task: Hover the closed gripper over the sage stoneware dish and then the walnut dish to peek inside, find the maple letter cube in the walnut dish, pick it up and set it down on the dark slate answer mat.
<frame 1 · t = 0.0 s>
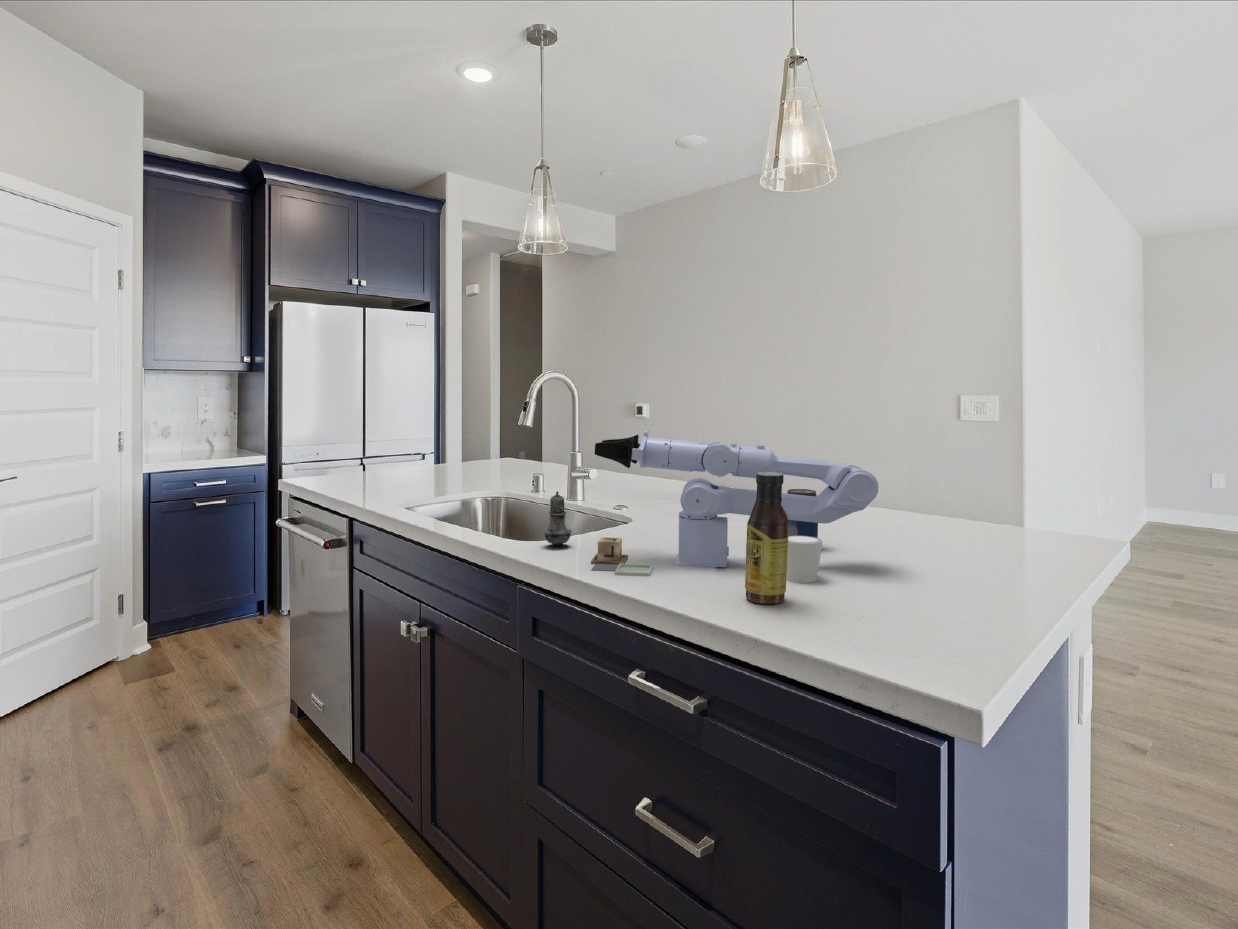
hand: (598, 447, 130), 22 cm above the countertop, tool horizontal, fingers open, 7 cm apart
soda can: (800, 548, 143), on the countertop
letter cube: (609, 560, 130), resting on walnut dish
sauce bottle: (765, 601, 105), on the countertop
white tapered cylinder: (800, 579, 118), on the countertop
walnut dish: (609, 562, 130), on the countertop
slate mat: (605, 569, 124), on the countertop
stoneware dish: (634, 572, 122), on the countertop
salt shaker: (557, 549, 141), on the countertop
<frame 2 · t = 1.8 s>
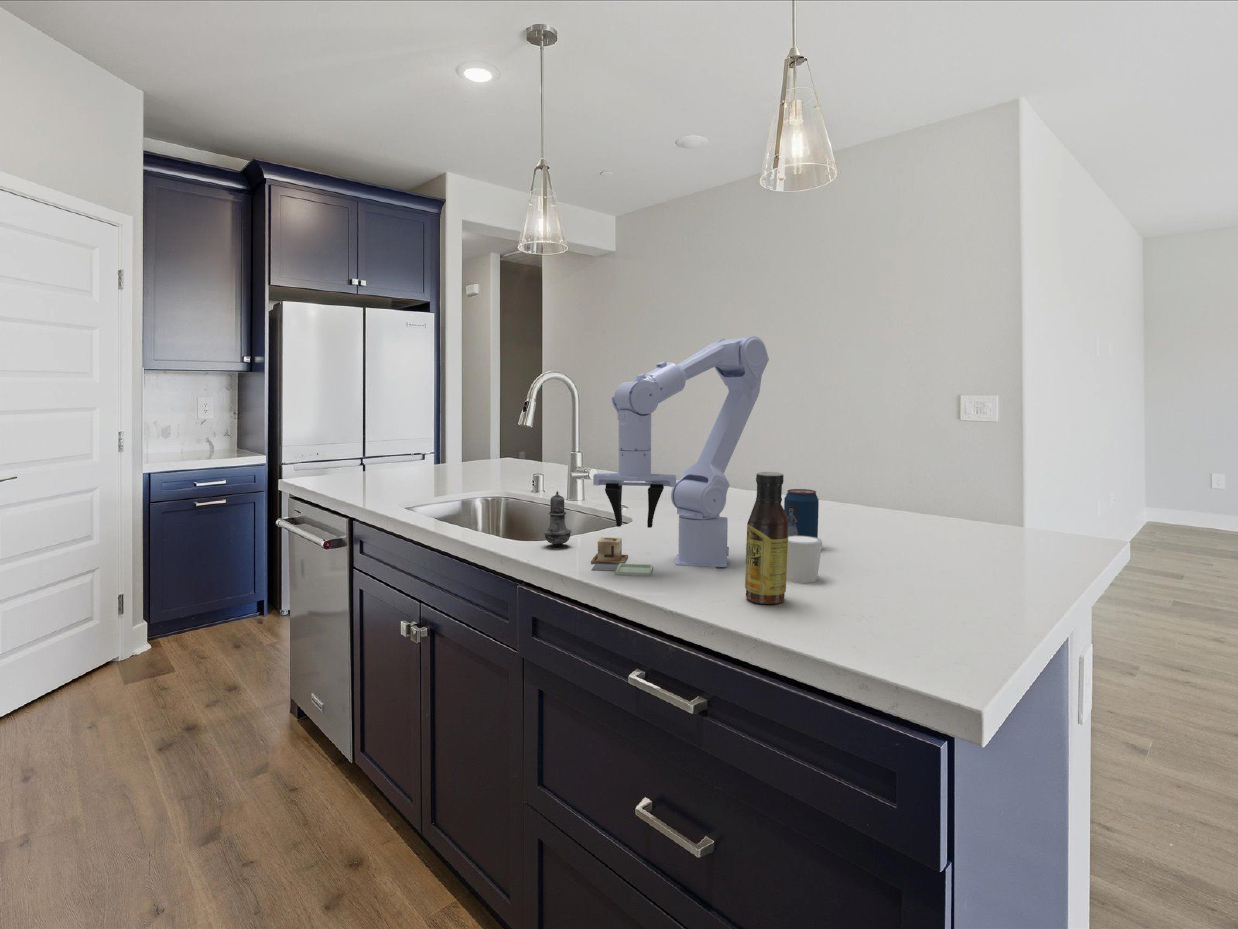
hand: (634, 526, 121), 8 cm above the countertop, tool pointing down, fingers open, 5 cm apart
nothing on the countertop moved.
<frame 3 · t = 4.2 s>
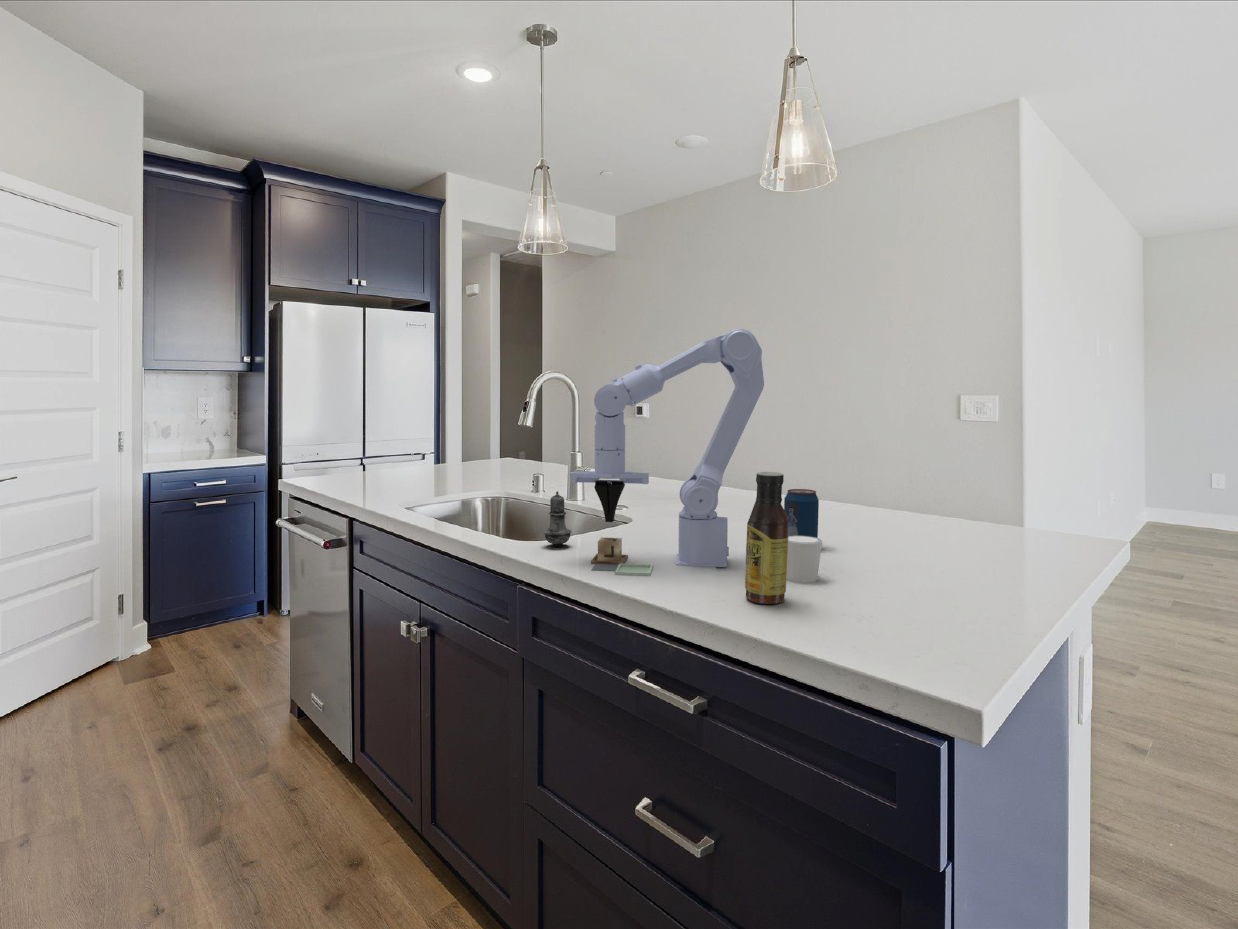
hand: (609, 521, 129), 8 cm above the countertop, tool pointing down, fingers closed
nothing on the countertop moved.
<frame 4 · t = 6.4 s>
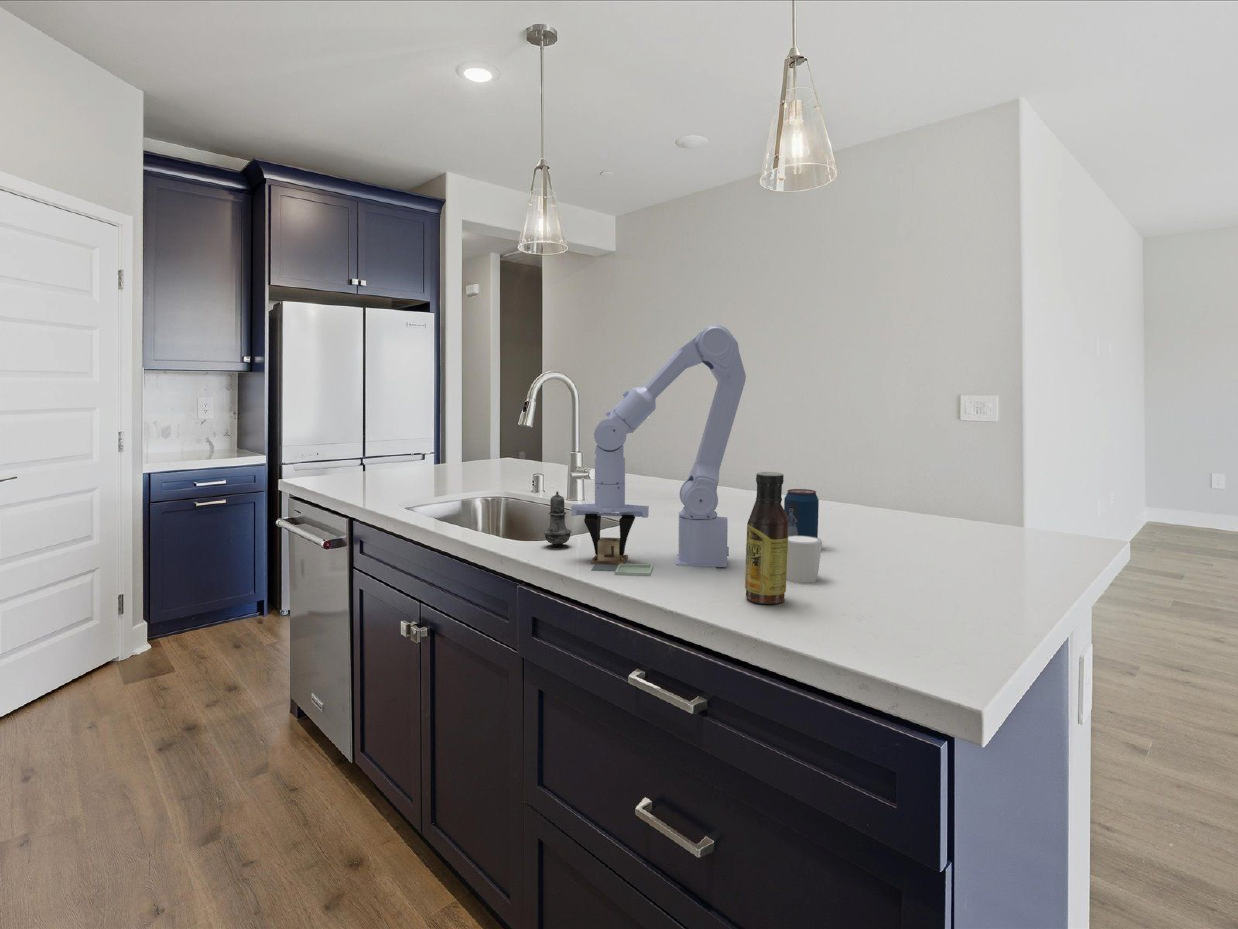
hand: (609, 553, 129), 2 cm above the countertop, tool pointing down, fingers closed on letter cube, 4 cm apart
letter cube: (609, 560, 130), resting on walnut dish, touching gripper
everything else where it was.
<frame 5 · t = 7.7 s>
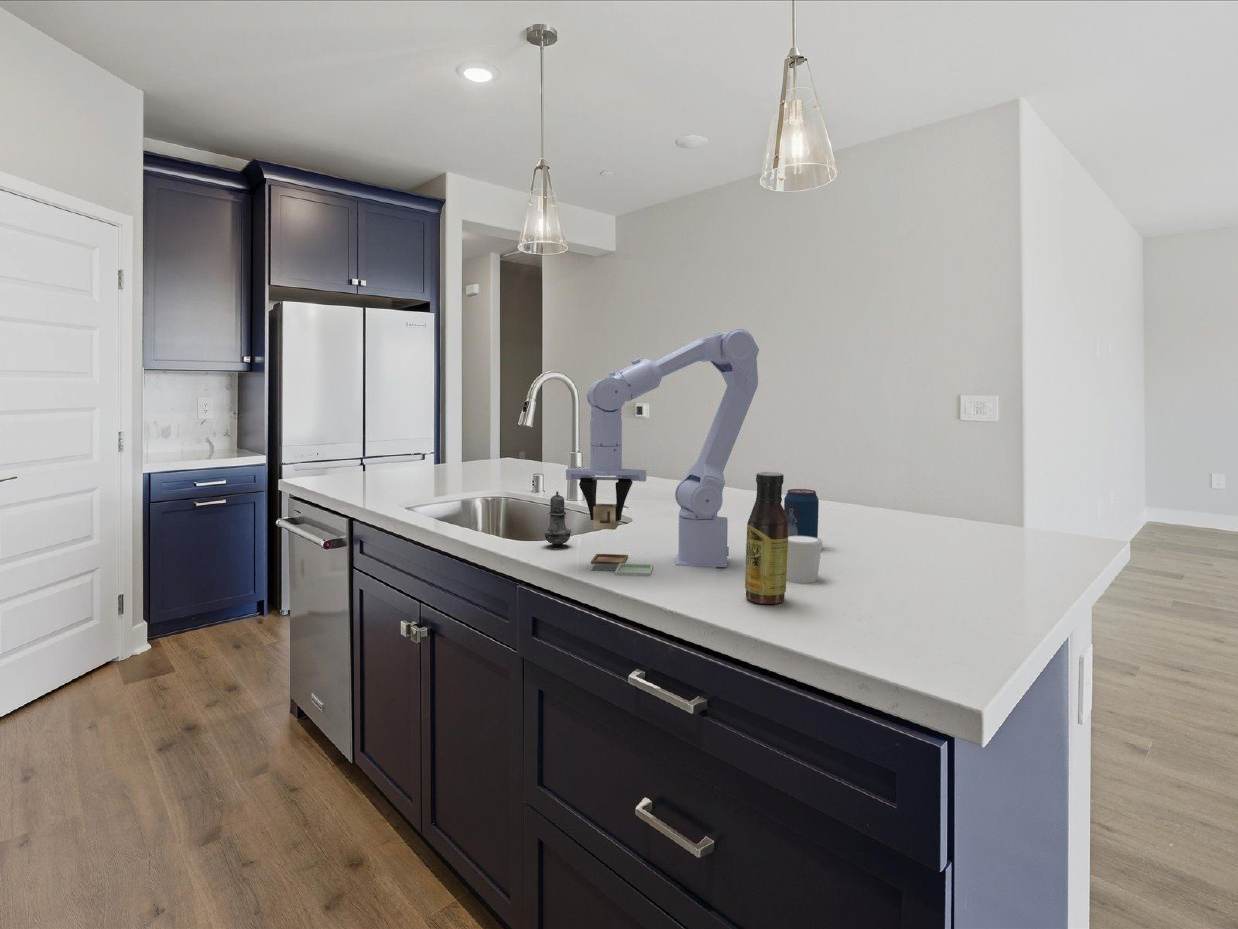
hand: (605, 519, 124), 9 cm above the countertop, tool pointing down, fingers closed on letter cube, 4 cm apart
letter cube: (606, 527, 125), point 8 cm above the countertop, touching gripper
everything else where it was.
when the fingers open (3 cm above the countertop, at t = 9.3 s): letter cube drops 1 cm, resting on slate mat.
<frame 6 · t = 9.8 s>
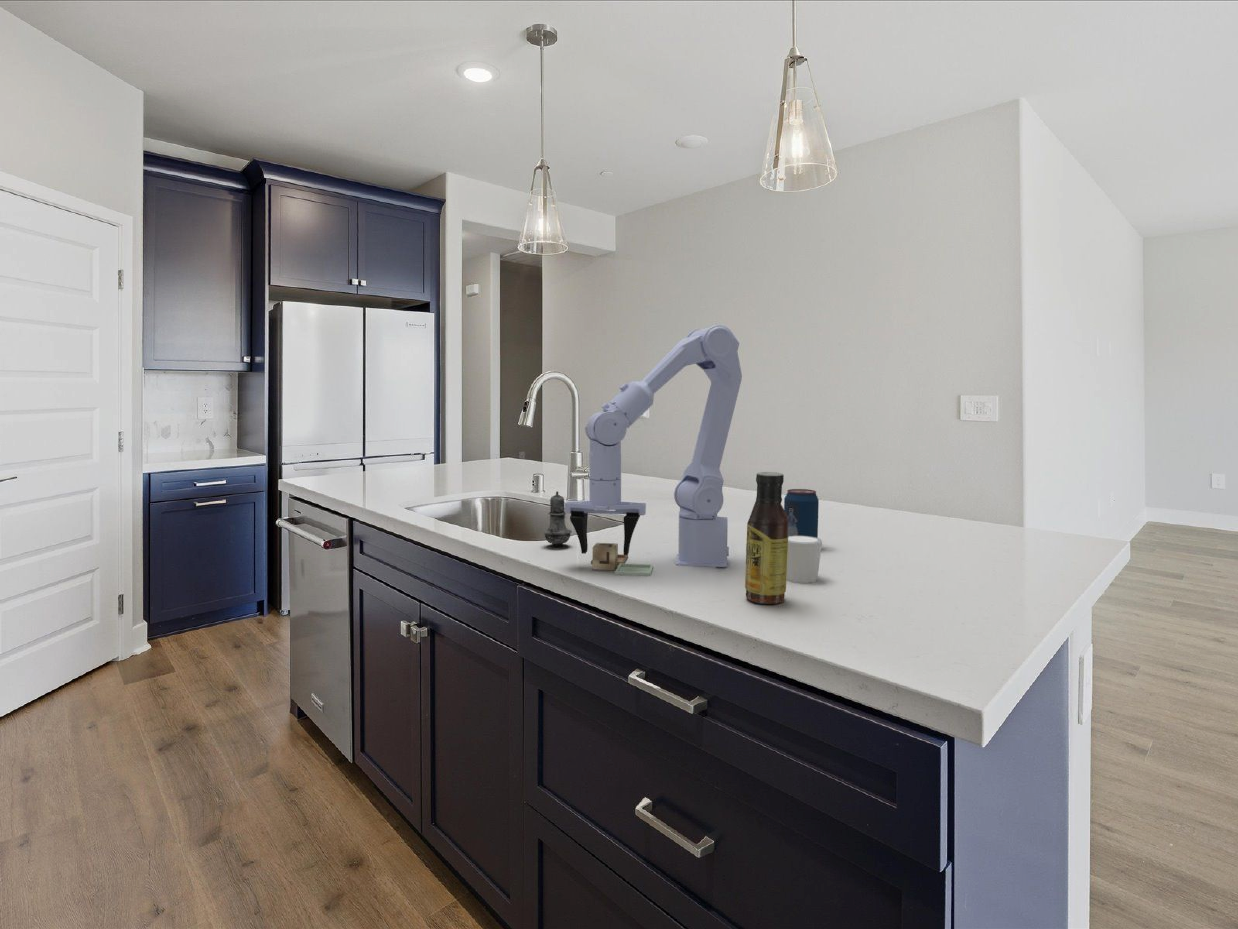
hand: (605, 553, 124), 3 cm above the countertop, tool pointing down, fingers open, 7 cm apart
letter cube: (605, 567, 124), resting on slate mat
everything else where it was.
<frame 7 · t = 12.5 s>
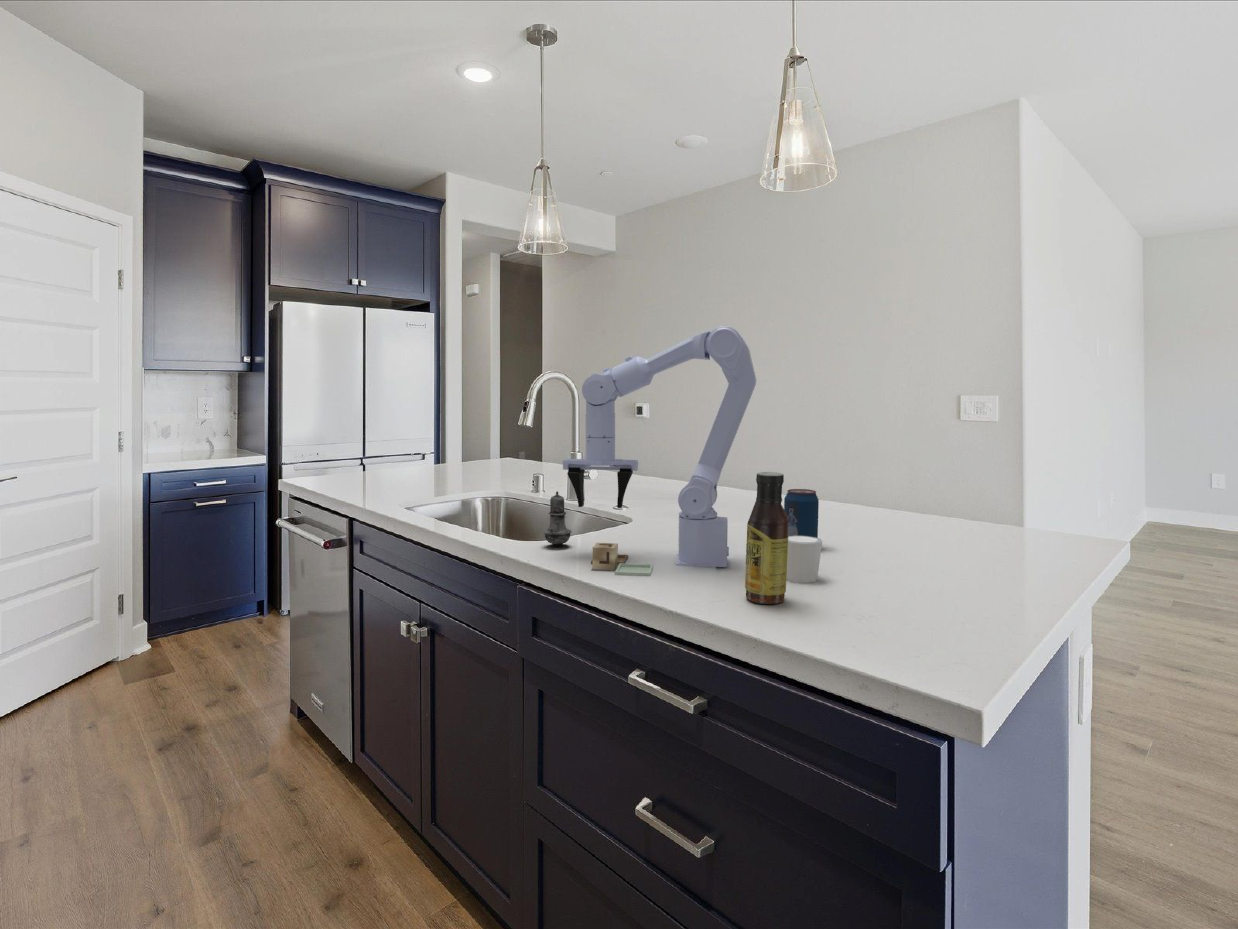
hand: (600, 506, 133), 10 cm above the countertop, tool pointing down, fingers open, 7 cm apart
nothing on the countertop moved.
at the end: letter cube 0.1 cm off-centre on the slate mat, point 0.4 cm above the slate mat's base; the gripper is holding nothing; letter cube tilted 0° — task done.
